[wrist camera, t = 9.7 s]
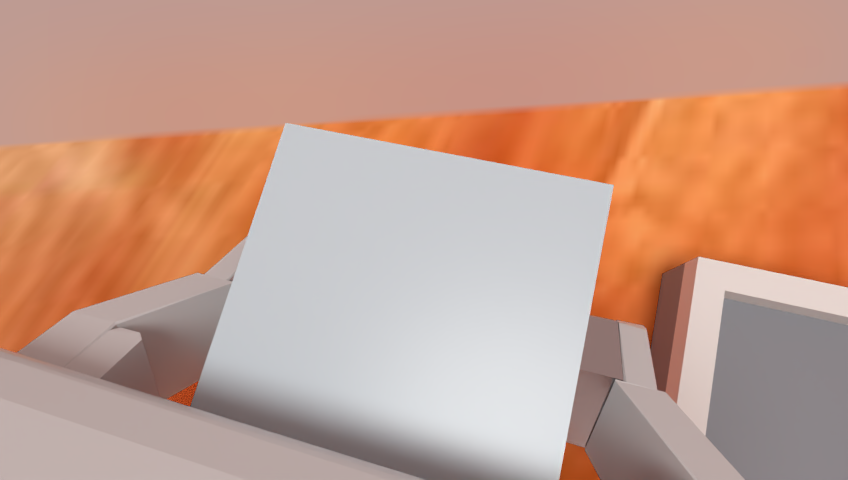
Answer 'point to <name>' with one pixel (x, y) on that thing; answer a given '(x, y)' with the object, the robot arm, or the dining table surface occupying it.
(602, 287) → the dining table surface
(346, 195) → the white footed cube
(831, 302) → the dock
